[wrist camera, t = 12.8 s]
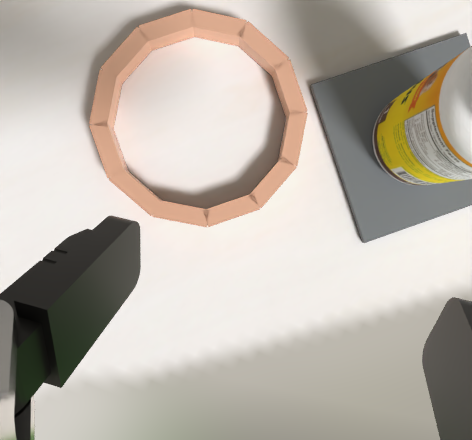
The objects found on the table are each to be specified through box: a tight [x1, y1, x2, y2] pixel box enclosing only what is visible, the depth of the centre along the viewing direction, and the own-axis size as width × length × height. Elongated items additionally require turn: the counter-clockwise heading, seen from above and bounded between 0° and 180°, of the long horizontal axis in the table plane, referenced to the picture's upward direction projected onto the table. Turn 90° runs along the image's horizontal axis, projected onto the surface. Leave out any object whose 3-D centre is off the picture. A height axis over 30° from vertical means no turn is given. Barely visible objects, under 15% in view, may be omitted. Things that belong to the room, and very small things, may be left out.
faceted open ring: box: [89, 9, 307, 227], centre depth 22 cm, size 12×12×1 cm
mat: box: [310, 33, 472, 243], centre depth 23 cm, size 10×10×1 cm
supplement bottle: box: [373, 46, 472, 185], centre depth 18 cm, size 6×6×10 cm
